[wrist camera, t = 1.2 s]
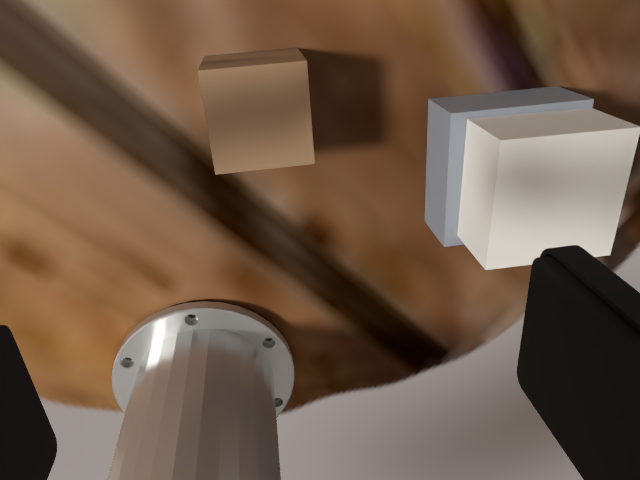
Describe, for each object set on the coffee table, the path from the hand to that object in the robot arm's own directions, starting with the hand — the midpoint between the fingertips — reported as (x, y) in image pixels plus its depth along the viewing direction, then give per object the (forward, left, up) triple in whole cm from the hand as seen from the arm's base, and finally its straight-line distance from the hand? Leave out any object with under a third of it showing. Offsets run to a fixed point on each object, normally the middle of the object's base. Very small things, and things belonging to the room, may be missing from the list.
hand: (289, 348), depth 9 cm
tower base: (-5, -14, -23) cm, 27 cm away
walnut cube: (0, 0, -22) cm, 22 cm away
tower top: (-5, -14, -19) cm, 24 cm away
